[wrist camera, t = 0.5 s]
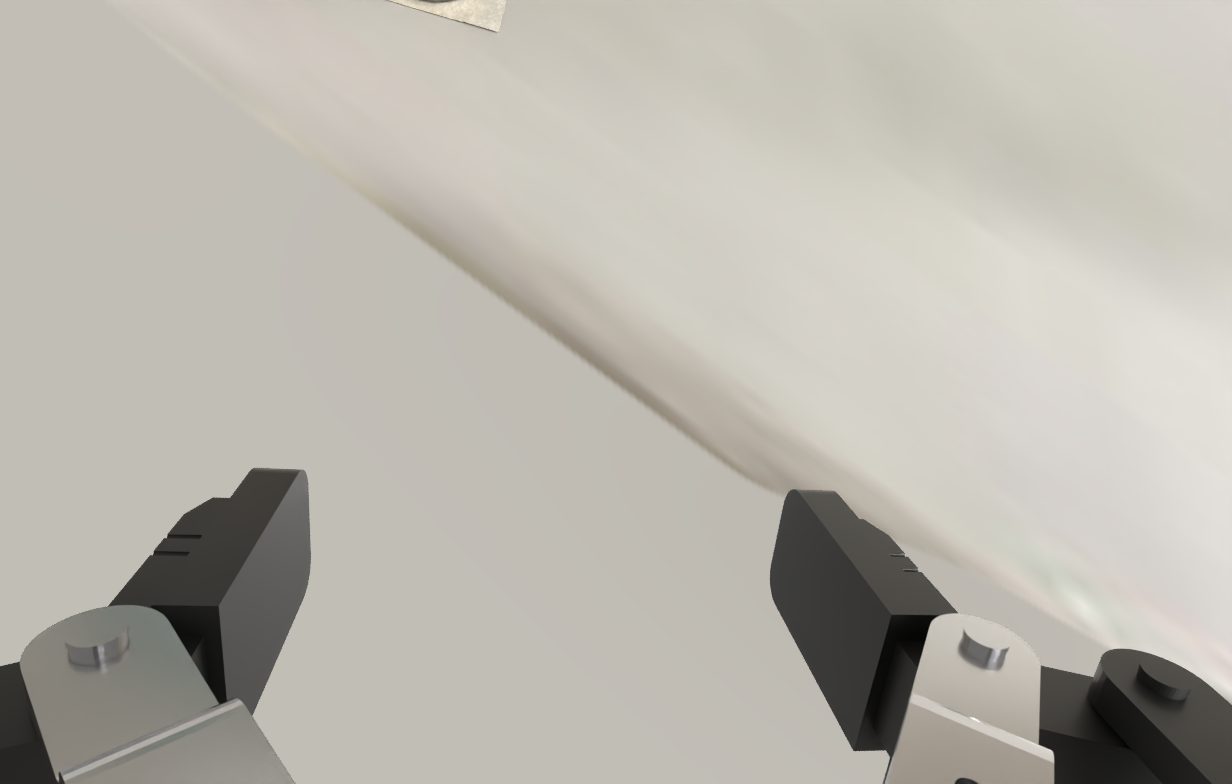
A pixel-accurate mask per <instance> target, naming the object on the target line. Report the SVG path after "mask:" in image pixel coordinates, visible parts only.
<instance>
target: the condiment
mask: <svg viewBox="0 0 1232 784" xmlns="http://www.w3.org/2000/svg"><path fill="white" fill-rule="evenodd" d="M389 1H392V2H396V3H399V4H402V5H405V6H409V7H412V8H416V9H419V10H423V11H426V12H429V13H433V14H437V15H440V16H443V17H447V18H450V19H454V20H458V21H461V22H466V23H469V24H473V25H476V26H480V27H483V28H486V29H490V30H493V31H496V32H499V29H500V25H501V21H502V17H503V13H504V9H505V5H506V1H507V0H389Z"/></svg>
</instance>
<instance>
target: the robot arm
mask: <svg viewBox="0 0 1232 784" xmlns="http://www.w3.org/2000/svg"><path fill="white" fill-rule="evenodd" d="M308 496H309V495H308V480H307V475H306V472H305V471H304V470H295V469H269V468H253V469H252V470H251V471H250V472H249V473H248V475H247V476H246V477H245V479H244V480H243V481H242V483H241V484H240V485H239V487H238V488H237V489H236V491H235V492H234V493H233V495H232V496H231V497H230V498H212V499H210V500H208V501H206V502H204V503H203V504H201V505H199V506H198V507H196V508H194V509H193V510H191V511H189V512H187V513H186V514H184V515H183V516H182V517H181V519H180V520H179V521H178V522H177V524H176V525H175V526H174V527H173V528H172V529H171V531H170V532H169V533H168V536H167V538H164V539H163V540H162V542H161V543H160V544H159V545H158V547H157V548H156V549H155V550H154V554H153V555H150V556H149V557H148V559H147V560H146V561H145V562H144V563H143V565H142V566H141V567H140V568H139V569H138V571H137V572H136V573H135V574H134V576H133V577H132V578H131V579H130V580H129V582H128V583H127V584H126V585H125V586H124V588H123V589H122V590H121V591H120V592H119V594H118V595H117V596H116V597H115V598H114V600H113V601H112V602H111V603H110V605H109V606H108V607H103V608H97V609H93V610H89V611H86V612H82V613H79V614H77V615H74V616H71V617H69V618H67V619H64V620H62V621H60V622H58V623H56V624H54V625H52V626H51V627H49V628H47V629H46V630H45V631H43V632H42V633H40V634H39V635H38V636H37V637H35V638H34V639H33V640H32V641H31V642H30V643H29V645H28V646H27V647H26V648H25V650H24V652H23V653H22V655H21V659H20V662H17V663H13V664H8V665H4V666H0V784H295V782H294V780H293V779H292V777H291V776H290V774H289V773H288V771H287V769H286V768H285V766H284V765H283V763H282V762H281V760H280V759H279V757H278V756H277V754H276V752H275V751H274V749H273V748H272V746H271V745H270V743H269V742H268V740H267V738H266V737H265V736H264V734H263V732H262V731H261V729H260V728H259V726H258V725H257V723H256V722H255V720H254V719H253V717H252V715H253V713H254V711H255V708H256V706H257V704H258V701H259V699H260V697H261V694H262V692H263V690H264V688H265V685H266V683H267V681H268V679H269V676H270V674H271V672H272V669H273V667H274V665H275V662H276V660H277V658H278V655H279V653H280V651H281V649H282V646H283V644H284V642H285V639H286V637H287V635H288V633H289V630H290V628H291V626H292V623H293V621H294V619H295V616H296V614H297V612H298V610H299V607H300V605H301V603H302V600H303V598H304V596H305V592H306V589H307V585H308V580H309V574H310V563H311V550H310V522H309V497H308ZM904 555H905V553H904V552H903V551H902V550H901V549H900V548H899V547H898V545H897V544H896V543H895V542H894V541H893V540H892V539H891V537H890V536H889V535H887V534H886V533H884V532H883V531H881V530H879V529H878V528H876V527H875V526H873V525H872V524H870V523H868V522H867V521H865V520H864V519H859V518H858V517H857V516H856V515H855V513H854V512H853V511H852V510H851V509H850V508H849V506H848V505H847V504H846V503H845V502H844V501H843V499H842V498H841V497H840V496H839V495H838V494H837V493H836V492H834V491H823V490H797V489H793V490H791V491H789V493H788V494H787V496H786V498H785V501H784V506H783V510H782V515H781V520H780V525H779V529H778V534H777V539H776V544H775V549H774V554H773V559H772V563H771V570H770V586H771V592H772V597H773V600H774V603H775V605H776V607H777V609H778V611H779V612H780V614H781V616H782V618H783V620H784V622H785V624H786V625H787V627H788V629H789V631H790V633H791V635H792V637H793V638H794V640H795V642H796V644H797V646H798V648H799V650H800V652H801V653H802V655H803V657H804V659H805V661H806V663H807V665H808V666H809V669H810V670H811V672H812V674H813V676H814V678H815V680H816V682H817V683H818V685H819V687H820V689H821V691H822V693H823V694H824V696H825V698H826V700H827V702H828V704H829V706H830V708H831V709H832V711H833V713H834V715H835V717H836V719H837V721H838V723H839V725H840V726H841V728H842V730H843V732H844V734H845V736H846V738H847V740H848V741H849V743H850V745H851V747H852V749H853V751H870V750H871V751H875V750H886V751H887V753H888V754H889V756H890V760H889V763H888V767H887V770H886V773H885V777H884V780H883V784H1232V705H1231V704H1230V703H1229V702H1228V701H1227V700H1225V699H1224V698H1223V697H1222V696H1221V695H1220V694H1219V693H1217V692H1216V691H1215V690H1214V689H1213V688H1212V687H1211V686H1209V685H1208V684H1207V683H1206V682H1204V681H1203V680H1202V679H1200V678H1199V677H1197V676H1196V675H1194V674H1193V673H1191V672H1189V671H1188V670H1186V669H1184V668H1183V667H1181V666H1179V665H1177V664H1175V663H1173V662H1170V661H1168V660H1166V659H1163V658H1161V657H1158V656H1155V655H1152V654H1149V653H1145V652H1142V651H1137V650H1131V649H1113V650H1109V651H1107V652H1105V653H1104V654H1103V655H1102V657H1101V660H1100V662H1099V665H1098V667H1097V670H1096V673H1095V675H1094V677H1090V676H1085V675H1080V674H1076V673H1071V672H1067V671H1062V670H1057V669H1053V668H1049V667H1044V666H1041V665H1040V660H1039V658H1038V656H1037V654H1036V653H1035V651H1034V650H1033V649H1032V648H1031V647H1030V646H1029V645H1028V644H1027V643H1026V642H1025V641H1024V640H1023V639H1022V638H1020V637H1019V636H1018V635H1016V634H1015V633H1013V632H1012V631H1010V630H1008V629H1006V628H1005V627H1003V626H1001V625H999V624H996V623H994V622H991V621H989V620H986V619H983V618H980V617H976V616H972V615H966V614H958V613H957V611H956V610H955V609H954V608H953V607H952V606H951V605H950V604H949V602H948V601H947V600H946V599H945V598H944V597H943V596H942V595H941V593H940V592H939V591H938V590H937V589H936V588H935V587H934V586H933V585H932V583H931V582H930V581H929V580H928V579H927V578H926V577H925V576H924V575H923V573H922V572H918V568H917V567H916V566H915V564H914V563H913V562H912V561H911V560H910V559H909V558H908V557H905V556H904Z"/></svg>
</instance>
